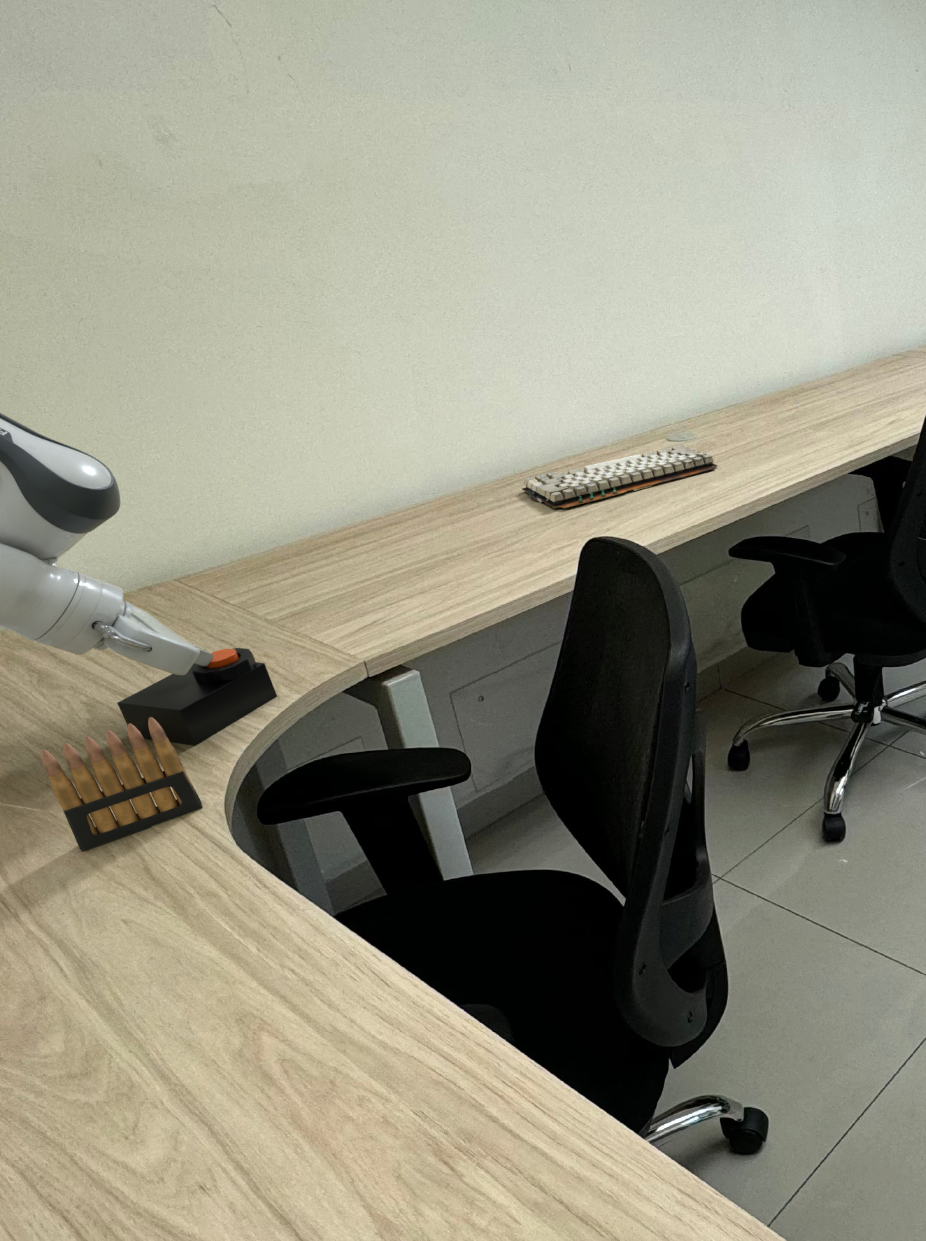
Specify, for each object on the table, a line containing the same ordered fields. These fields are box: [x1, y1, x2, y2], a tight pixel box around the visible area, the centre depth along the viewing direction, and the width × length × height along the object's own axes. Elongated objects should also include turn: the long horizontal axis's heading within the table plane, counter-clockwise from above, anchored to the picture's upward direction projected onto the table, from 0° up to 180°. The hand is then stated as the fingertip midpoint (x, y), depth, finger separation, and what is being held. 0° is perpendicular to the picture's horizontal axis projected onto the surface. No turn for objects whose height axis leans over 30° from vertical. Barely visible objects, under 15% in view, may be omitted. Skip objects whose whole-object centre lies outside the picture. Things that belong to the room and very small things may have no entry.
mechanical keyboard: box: [521, 444, 718, 509], centre depth 212 cm, size 38×19×3 cm, turn 133°
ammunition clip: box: [41, 717, 203, 852], centre depth 105 cm, size 11×2×12 cm, turn 131°
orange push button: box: [205, 648, 239, 668], centre depth 128 cm, size 4×4×3 cm
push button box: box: [116, 647, 278, 747], centre depth 127 cm, size 10×12×7 cm
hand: (207, 658), depth 126 cm, fingers closed, pressing on orange push button
